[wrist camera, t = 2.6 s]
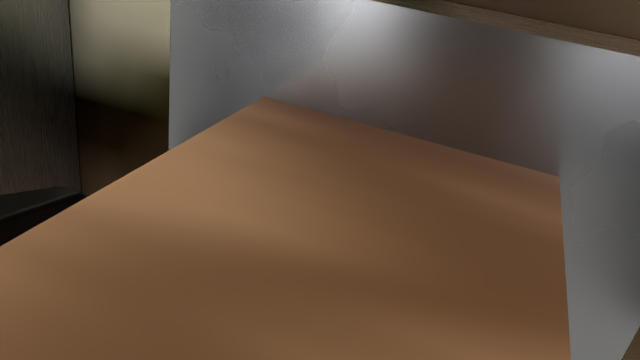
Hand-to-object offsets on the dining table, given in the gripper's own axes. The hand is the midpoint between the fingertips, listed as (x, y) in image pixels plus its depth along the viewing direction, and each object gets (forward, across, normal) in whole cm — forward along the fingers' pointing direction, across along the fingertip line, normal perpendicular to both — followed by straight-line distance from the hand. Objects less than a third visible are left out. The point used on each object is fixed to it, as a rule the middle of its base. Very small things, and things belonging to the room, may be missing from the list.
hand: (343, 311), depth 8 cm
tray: (+3, 0, 0) cm, 3 cm away
